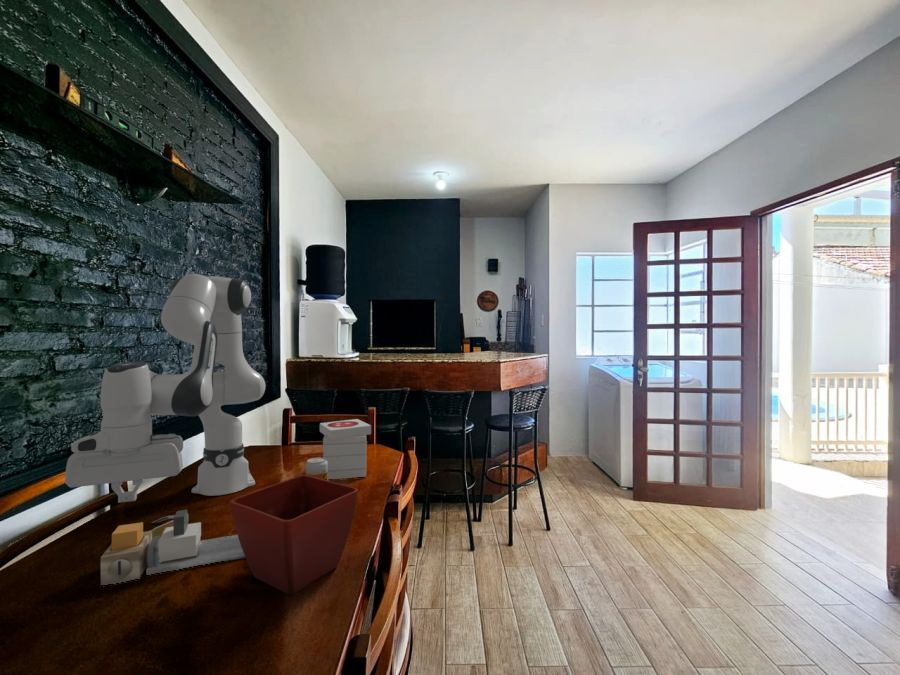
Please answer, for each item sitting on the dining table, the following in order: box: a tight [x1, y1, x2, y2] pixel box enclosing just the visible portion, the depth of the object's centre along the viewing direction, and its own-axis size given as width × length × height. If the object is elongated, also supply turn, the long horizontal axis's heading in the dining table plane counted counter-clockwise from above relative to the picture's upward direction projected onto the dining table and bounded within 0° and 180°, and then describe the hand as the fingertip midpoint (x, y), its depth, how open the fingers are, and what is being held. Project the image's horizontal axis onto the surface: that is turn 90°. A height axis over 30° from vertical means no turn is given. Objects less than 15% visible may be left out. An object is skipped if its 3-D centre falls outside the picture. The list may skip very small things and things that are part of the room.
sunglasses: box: [150, 513, 189, 540], centre depth 108 cm, size 14×15×5 cm
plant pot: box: [229, 474, 359, 595], centre depth 90 cm, size 19×19×17 cm
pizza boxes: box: [319, 418, 372, 480], centre depth 162 cm, size 19×30×18 cm, turn 11°
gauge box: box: [100, 530, 152, 586], centre depth 91 cm, size 11×6×6 cm, turn 23°
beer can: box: [305, 456, 329, 481], centre depth 122 cm, size 6×6×15 cm
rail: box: [145, 534, 246, 576], centre depth 98 cm, size 8×25×6 cm, turn 113°
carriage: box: [158, 509, 202, 562], centre depth 95 cm, size 7×7×9 cm
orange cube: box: [111, 521, 144, 551], centre depth 91 cm, size 4×4×4 cm
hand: (127, 500), depth 91 cm, fingers closed
